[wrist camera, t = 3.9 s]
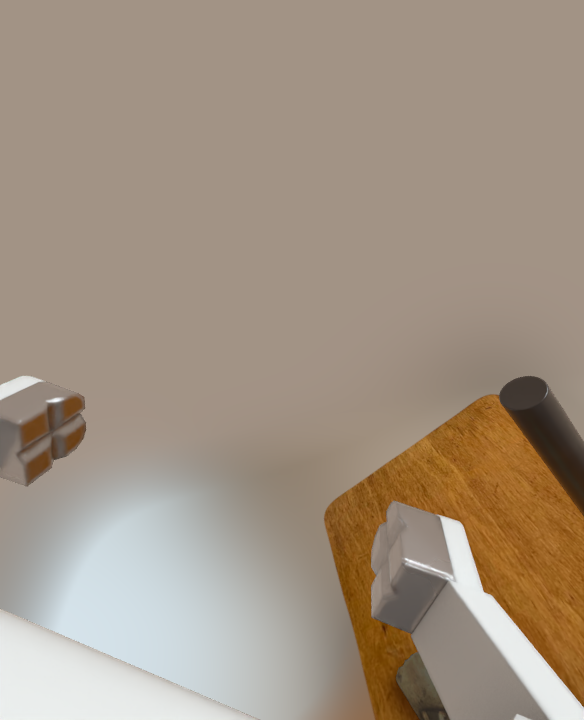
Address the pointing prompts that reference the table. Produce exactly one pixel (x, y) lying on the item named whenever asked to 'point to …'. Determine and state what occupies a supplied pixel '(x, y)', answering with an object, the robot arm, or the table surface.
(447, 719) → the stone
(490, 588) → the table surface
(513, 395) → the stick
